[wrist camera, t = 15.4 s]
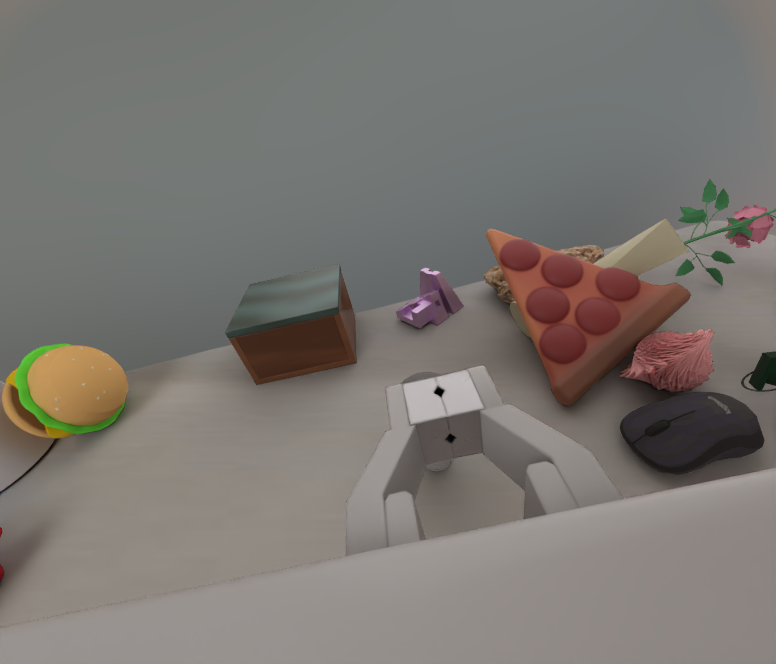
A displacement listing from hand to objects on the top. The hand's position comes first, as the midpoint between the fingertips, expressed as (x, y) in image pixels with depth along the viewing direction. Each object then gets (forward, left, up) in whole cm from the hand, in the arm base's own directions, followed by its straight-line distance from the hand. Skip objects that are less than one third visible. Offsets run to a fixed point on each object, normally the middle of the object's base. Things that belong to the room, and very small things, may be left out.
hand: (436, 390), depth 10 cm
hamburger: (-46, +27, -16) cm, 55 cm away
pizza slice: (+21, +17, -18) cm, 33 cm away
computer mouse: (+20, +8, -20) cm, 30 cm away
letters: (+4, +35, -21) cm, 41 cm away
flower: (+24, +12, -19) cm, 33 cm away
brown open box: (-14, +33, -20) cm, 41 cm away
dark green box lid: (-14, +33, -13) cm, 38 cm away
